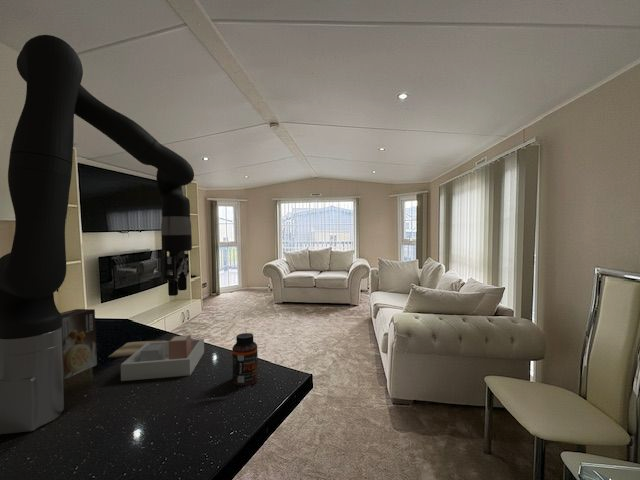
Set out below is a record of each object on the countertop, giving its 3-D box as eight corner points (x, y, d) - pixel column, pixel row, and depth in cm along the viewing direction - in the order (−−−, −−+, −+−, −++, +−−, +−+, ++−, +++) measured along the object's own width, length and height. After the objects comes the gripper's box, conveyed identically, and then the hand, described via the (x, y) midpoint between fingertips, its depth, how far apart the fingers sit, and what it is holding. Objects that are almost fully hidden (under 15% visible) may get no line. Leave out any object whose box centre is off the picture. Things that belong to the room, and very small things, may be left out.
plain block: (159, 368, 81) (158, 349, 81) (140, 370, 81) (140, 351, 81) (165, 361, 86) (164, 344, 86) (147, 363, 85) (147, 345, 85)
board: (152, 356, 92) (152, 353, 92) (108, 359, 90) (108, 356, 90) (166, 342, 103) (166, 339, 103) (127, 345, 102) (127, 342, 102)
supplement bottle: (245, 390, 70) (244, 340, 70) (227, 384, 73) (226, 336, 73) (263, 379, 75) (262, 333, 75) (245, 374, 78) (244, 330, 78)
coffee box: (78, 365, 86) (77, 308, 86) (97, 366, 85) (96, 308, 85) (43, 380, 77) (41, 316, 77) (64, 382, 76) (62, 317, 76)
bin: (190, 377, 77) (189, 359, 77) (121, 383, 75) (120, 364, 75) (204, 353, 93) (203, 338, 93) (147, 358, 90) (147, 342, 90)
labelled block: (187, 366, 82) (186, 340, 82) (169, 367, 82) (168, 341, 82) (191, 359, 87) (190, 335, 87) (174, 361, 86) (173, 336, 86)
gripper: (184, 233, 78) (185, 296, 78) (197, 233, 92) (198, 287, 92) (152, 233, 77) (153, 298, 77) (170, 234, 91) (171, 289, 91)
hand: (178, 292), depth 84 cm, fingers open, 8 cm apart
